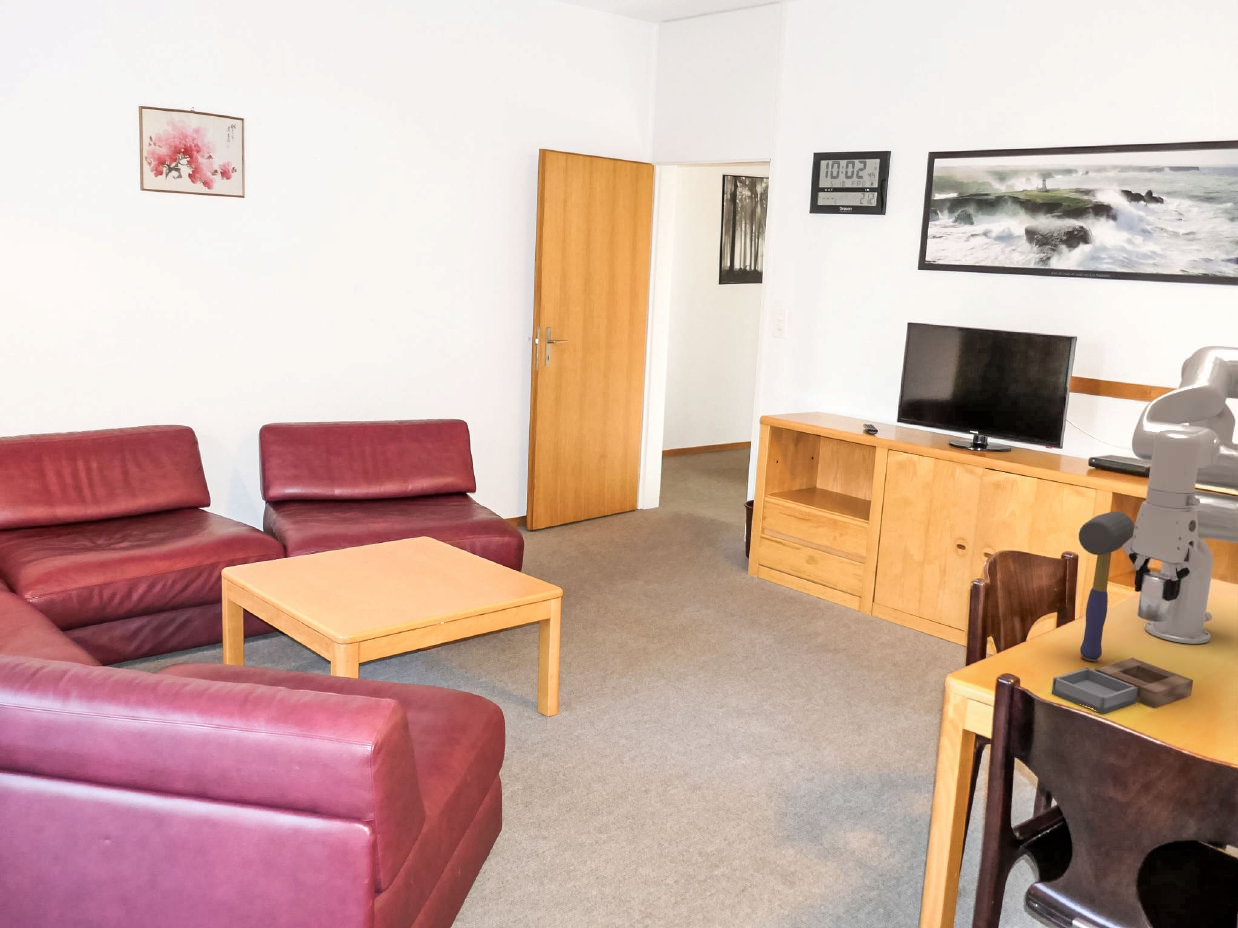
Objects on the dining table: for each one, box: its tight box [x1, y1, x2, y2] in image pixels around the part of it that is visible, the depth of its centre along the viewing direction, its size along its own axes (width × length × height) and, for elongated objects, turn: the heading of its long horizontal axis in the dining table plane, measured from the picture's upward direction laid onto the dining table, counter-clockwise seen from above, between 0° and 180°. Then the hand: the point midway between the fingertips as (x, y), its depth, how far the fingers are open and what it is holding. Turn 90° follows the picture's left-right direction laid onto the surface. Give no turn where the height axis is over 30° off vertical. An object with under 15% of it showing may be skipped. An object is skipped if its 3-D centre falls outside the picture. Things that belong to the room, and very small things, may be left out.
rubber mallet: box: [1078, 511, 1135, 662], centre depth 210 cm, size 12×8×30 cm, turn 137°
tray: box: [1051, 667, 1138, 715], centre depth 194 cm, size 10×10×3 cm
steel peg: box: [1137, 570, 1170, 622], centre depth 195 cm, size 5×5×8 cm
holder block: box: [1094, 657, 1194, 709], centre depth 198 cm, size 12×12×3 cm
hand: (1155, 593), depth 195 cm, fingers closed on steel peg, 5 cm apart
